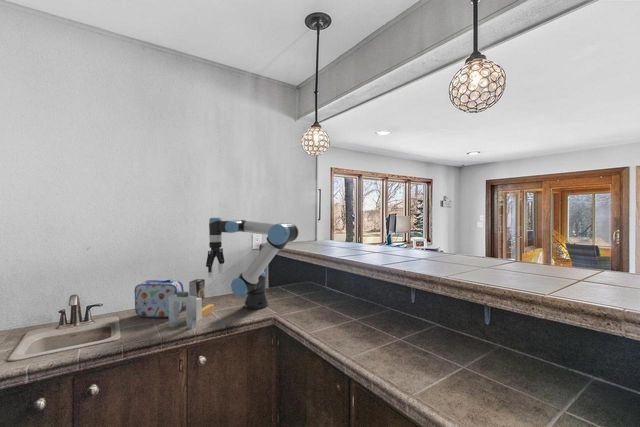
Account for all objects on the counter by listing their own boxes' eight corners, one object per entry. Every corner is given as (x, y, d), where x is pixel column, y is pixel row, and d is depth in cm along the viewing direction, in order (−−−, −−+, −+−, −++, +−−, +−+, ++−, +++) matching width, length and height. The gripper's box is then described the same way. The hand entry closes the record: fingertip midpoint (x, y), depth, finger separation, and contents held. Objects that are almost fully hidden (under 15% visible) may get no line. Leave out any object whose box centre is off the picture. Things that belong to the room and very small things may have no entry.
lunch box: (187, 312, 183) (187, 277, 183) (179, 318, 173) (179, 281, 173) (142, 312, 184) (142, 277, 184) (132, 318, 173) (132, 280, 173)
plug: (207, 309, 190) (207, 290, 190) (216, 310, 188) (216, 291, 188) (186, 321, 169) (186, 300, 169) (195, 322, 168) (195, 300, 168)
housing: (196, 326, 162) (196, 292, 162) (191, 328, 158) (191, 294, 158) (173, 324, 165) (173, 290, 165) (168, 326, 161) (168, 292, 161)
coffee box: (197, 306, 195) (197, 282, 195) (188, 306, 196) (188, 281, 196) (205, 302, 204) (205, 279, 204) (196, 302, 205) (196, 278, 205)
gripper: (219, 239, 205) (220, 271, 205) (199, 243, 183) (199, 279, 183) (229, 239, 204) (230, 272, 204) (210, 243, 181) (210, 279, 181)
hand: (215, 275), depth 193 cm, fingers open, 11 cm apart
